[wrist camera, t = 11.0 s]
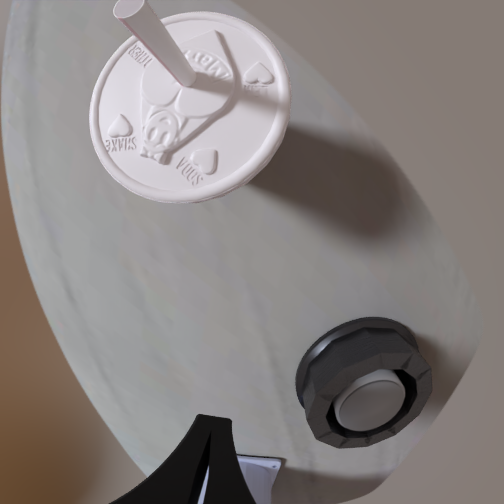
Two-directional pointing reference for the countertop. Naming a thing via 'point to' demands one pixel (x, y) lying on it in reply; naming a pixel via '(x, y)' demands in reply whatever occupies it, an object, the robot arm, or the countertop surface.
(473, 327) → the countertop surface
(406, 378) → the dark grey pot
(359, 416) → the cap
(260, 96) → the smoothie
